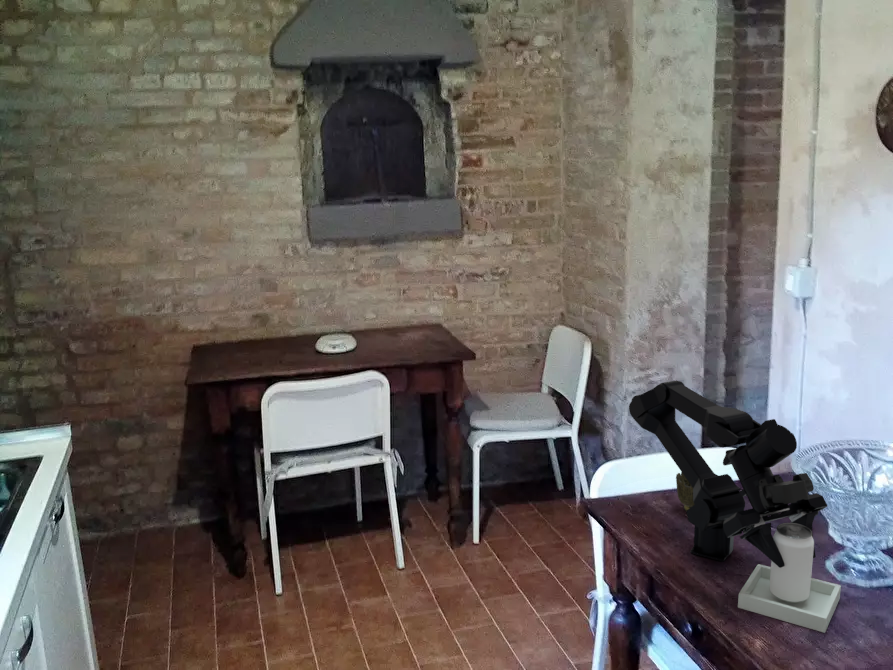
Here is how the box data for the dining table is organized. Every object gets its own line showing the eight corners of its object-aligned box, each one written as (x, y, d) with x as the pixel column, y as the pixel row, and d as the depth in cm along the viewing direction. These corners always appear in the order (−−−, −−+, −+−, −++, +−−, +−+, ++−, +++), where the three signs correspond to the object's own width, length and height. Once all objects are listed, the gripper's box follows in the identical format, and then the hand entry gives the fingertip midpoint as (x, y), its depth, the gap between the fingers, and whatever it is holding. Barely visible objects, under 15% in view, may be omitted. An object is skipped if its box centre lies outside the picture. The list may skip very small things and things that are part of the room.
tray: (737, 607, 145) (738, 593, 144) (757, 576, 154) (758, 563, 154) (824, 632, 137) (826, 618, 136) (839, 598, 147) (840, 585, 146)
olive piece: (668, 512, 181) (669, 478, 179) (683, 500, 186) (685, 467, 184) (701, 522, 176) (703, 486, 174) (716, 509, 181) (718, 475, 179)
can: (807, 586, 148) (813, 523, 145) (811, 606, 142) (816, 541, 139) (768, 581, 149) (772, 519, 146) (770, 600, 144) (774, 537, 141)
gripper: (738, 469, 140) (782, 559, 133) (824, 450, 147) (870, 535, 139) (705, 494, 149) (744, 580, 142) (787, 475, 156) (828, 556, 149)
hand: (798, 562), depth 143 cm, fingers closed on can, 6 cm apart
